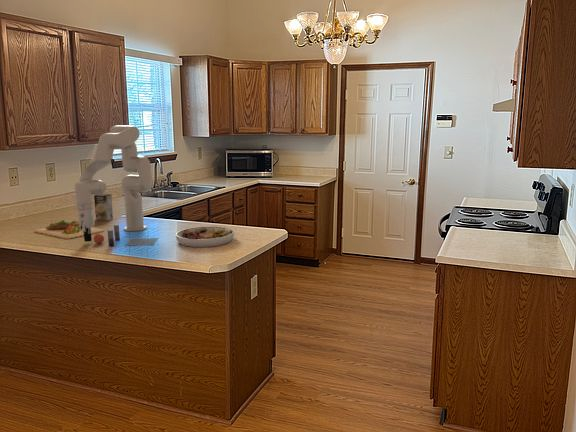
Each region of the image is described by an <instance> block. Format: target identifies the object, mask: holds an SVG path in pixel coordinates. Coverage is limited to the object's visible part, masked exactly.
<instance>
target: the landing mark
mask: <svg viewBox="0 0 576 432" xmlns="http://www.w3.org/2000/svg"><path fill="white" fill-rule="evenodd" d="M158 239H159V238H158V237H153V238H151V237H150V238H149V237H148V238H130V240H129V241H128V242H127V243H126V244H125V247H128V246H129V247H132V246H133V247H134V246H135V247H136V246H154V245H155V243H156V242H157V241H158Z"/></svg>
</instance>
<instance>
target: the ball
mask: <svg viewBox="0 0 576 432" xmlns="http://www.w3.org/2000/svg"><path fill="white" fill-rule="evenodd" d="M104 240H105V237H104V235H103V234H101V233H96V234H94V236H93V241H94V243H95V244H98V245H99V244H103V243H104Z"/></svg>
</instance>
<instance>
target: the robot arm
mask: <svg viewBox="0 0 576 432" xmlns="http://www.w3.org/2000/svg"><path fill="white" fill-rule="evenodd" d="M139 138H140V129H139V128H138V127H137V126H135V125H113V126H111V127H110V129H109V132H108V133H103V134H101V135H100V137H99V140H98V142H97V146H96V150H95V153H94V156H93V159H92V160H91V161H90V162H88V164H87V165H86V166H85V167H84V169H83V170H82V172H81V173H80V178H79V181H78V182H75V184H74V189H75V190H74V191H75V192H74V193H75V201H76V210H77V211H78V222H79V226H80V229H82V232H83V233H84V236H83V239H84V242H85V243H87V242H89V243H90V242H91V241H92V239H93V238H92V234H91V228H92V227H95V226H96V225H95V217H94V216H95V215H94V210H93V209H94V205H93V204H94V203H93V197H92V196H94V195H99V194H105V192H106V191H107V184H106V182H104V181H103V180H100V179H93V178H94V176H95V175H96V174H97V173H98V172H99V171H100V170H102V169H105V168H106V167H108V166H110V165H111V163H112V159H113V154H114V151H115V150H120V151H121V160H122V161H121V162H122V168H123V170H124V171H125V173H126V172H127V173H132V174H127V175H125V176H123V177H122V179H121V189H122V191H123V196H124V206H125V208H124V210H125V222H126V226H125V227H124V228H123V230H124V231H126V232H137V231H144V230H146V229H147V228H148V227H147V225H144V224H145V223H144V210H143V197H142V195H141V193H148V192H149V191H151V189H152V186H153V180H152V177H153V176H152V166H151V162H150V160H149V158H147V156H144V155H143V156H142V155H139V154H138V149H137V148H138V147H137V144H136V143H135V142H136V141H138V140H139Z"/></svg>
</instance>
